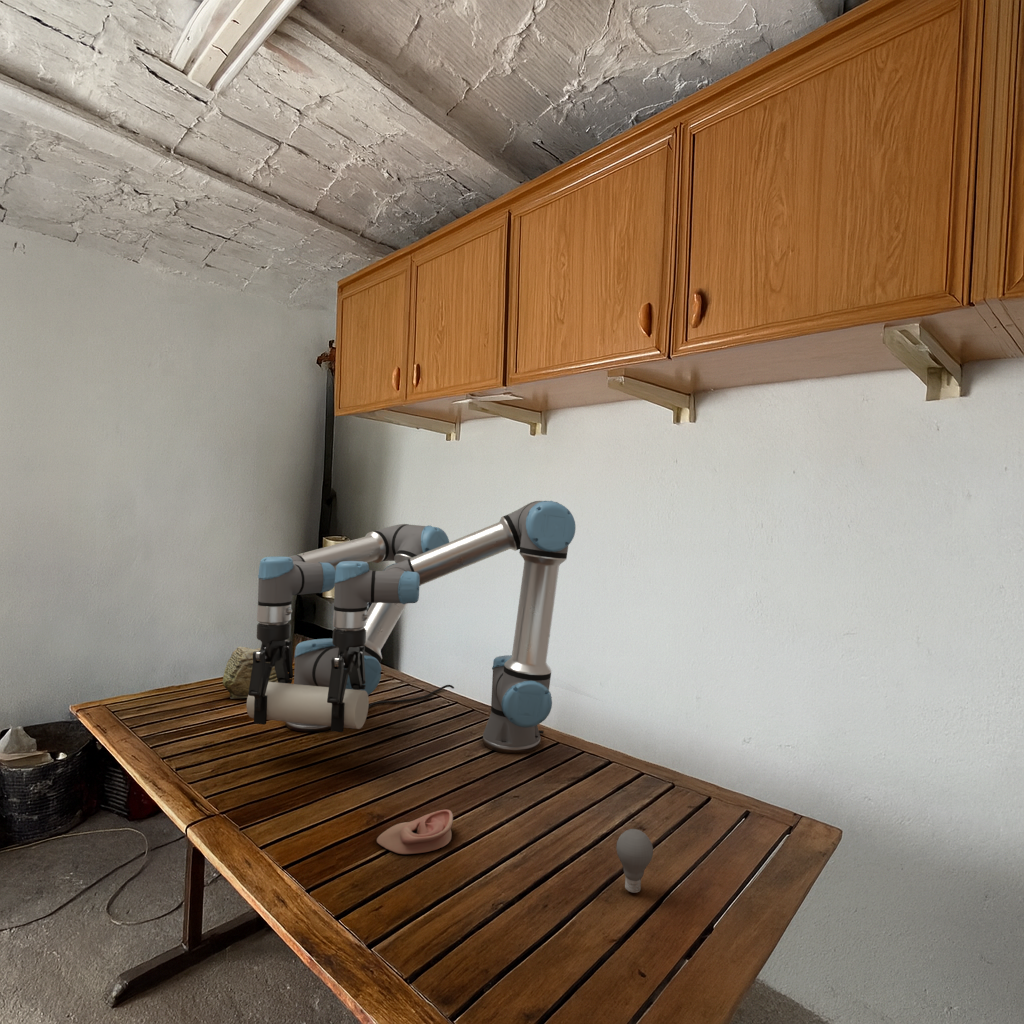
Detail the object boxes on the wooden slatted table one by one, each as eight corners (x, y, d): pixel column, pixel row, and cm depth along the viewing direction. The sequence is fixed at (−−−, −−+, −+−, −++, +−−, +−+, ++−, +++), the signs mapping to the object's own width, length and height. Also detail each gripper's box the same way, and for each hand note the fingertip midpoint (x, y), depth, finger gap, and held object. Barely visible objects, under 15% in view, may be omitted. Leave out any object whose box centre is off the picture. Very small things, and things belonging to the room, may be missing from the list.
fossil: (218, 695, 195) (220, 647, 195) (278, 685, 208) (279, 640, 207) (228, 703, 189) (230, 653, 188) (289, 692, 201) (290, 645, 201)
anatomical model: (370, 827, 114) (394, 798, 126) (369, 849, 114) (393, 818, 126) (440, 838, 112) (458, 808, 123) (439, 860, 112) (458, 828, 123)
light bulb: (610, 879, 108) (613, 822, 108) (644, 879, 109) (647, 822, 109) (619, 902, 102) (622, 840, 102) (655, 901, 103) (658, 840, 103)
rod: (245, 723, 147) (247, 686, 147) (265, 711, 155) (266, 676, 155) (353, 734, 143) (355, 696, 143) (368, 721, 151) (369, 686, 151)
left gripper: (264, 632, 139) (260, 734, 139) (310, 615, 160) (306, 704, 161) (233, 629, 140) (229, 731, 140) (282, 613, 161) (279, 701, 162)
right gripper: (345, 638, 136) (341, 742, 136) (381, 620, 157) (378, 710, 158) (313, 636, 137) (309, 739, 138) (353, 618, 159) (349, 707, 159)
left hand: (270, 716), depth 150 cm, fingers closed on rod, 9 cm apart
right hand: (346, 723), depth 148 cm, fingers open, 9 cm apart
